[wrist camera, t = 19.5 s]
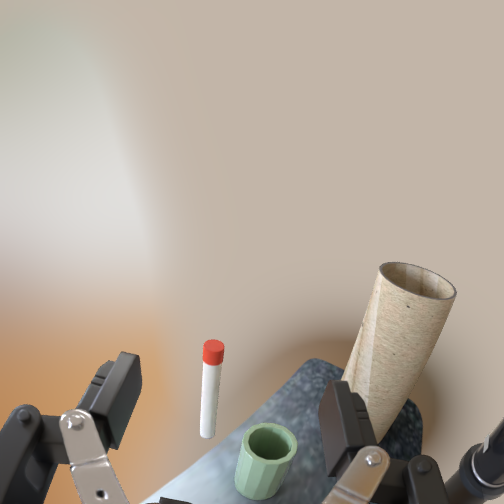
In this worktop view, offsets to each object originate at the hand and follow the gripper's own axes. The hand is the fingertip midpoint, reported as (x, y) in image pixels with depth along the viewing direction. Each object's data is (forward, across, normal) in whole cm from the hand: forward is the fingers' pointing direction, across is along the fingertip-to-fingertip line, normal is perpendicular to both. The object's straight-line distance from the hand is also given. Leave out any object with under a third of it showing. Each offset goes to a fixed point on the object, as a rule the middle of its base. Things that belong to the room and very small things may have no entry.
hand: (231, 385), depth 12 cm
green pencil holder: (+10, -5, +28) cm, 30 cm away
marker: (+17, +2, +28) cm, 32 cm away
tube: (+20, -20, +28) cm, 40 cm away
